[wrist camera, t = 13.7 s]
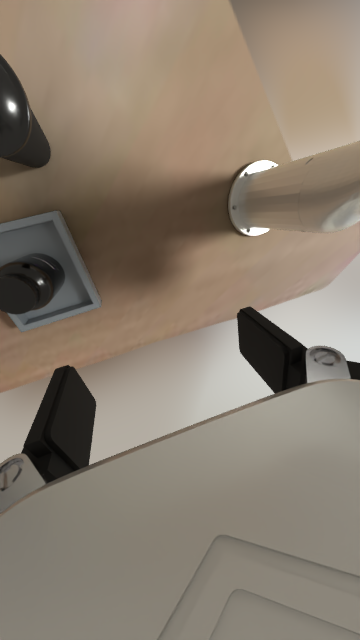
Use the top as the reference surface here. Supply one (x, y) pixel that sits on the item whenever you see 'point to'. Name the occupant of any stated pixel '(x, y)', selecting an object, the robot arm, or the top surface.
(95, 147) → the top surface
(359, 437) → the robot arm
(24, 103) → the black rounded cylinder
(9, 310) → the supplement bottle
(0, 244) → the tray
